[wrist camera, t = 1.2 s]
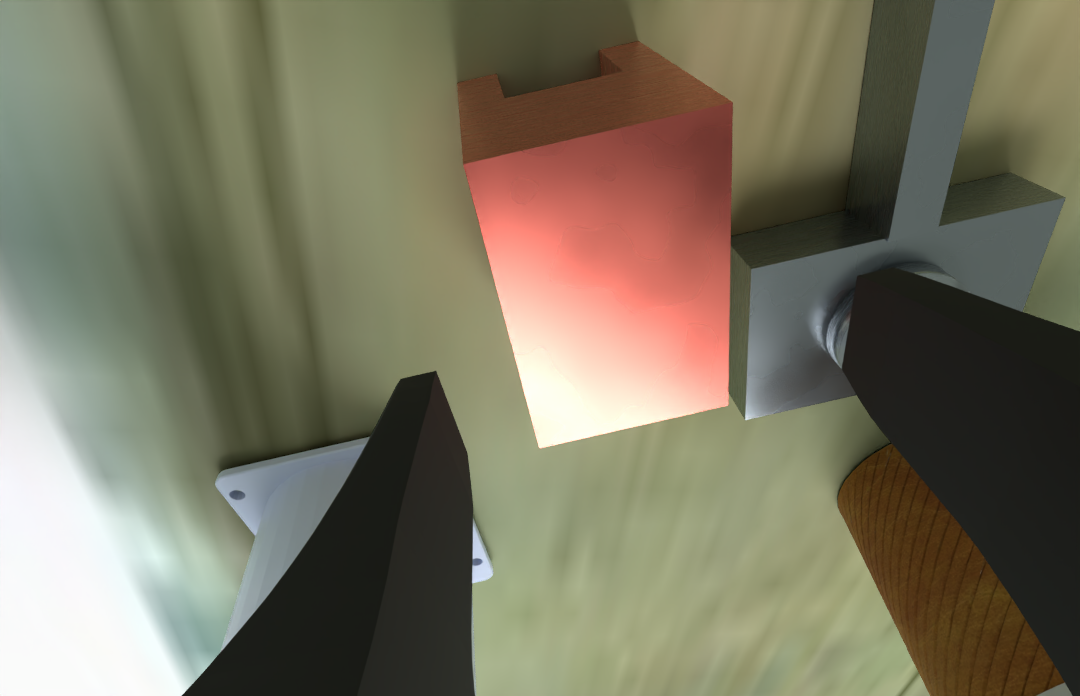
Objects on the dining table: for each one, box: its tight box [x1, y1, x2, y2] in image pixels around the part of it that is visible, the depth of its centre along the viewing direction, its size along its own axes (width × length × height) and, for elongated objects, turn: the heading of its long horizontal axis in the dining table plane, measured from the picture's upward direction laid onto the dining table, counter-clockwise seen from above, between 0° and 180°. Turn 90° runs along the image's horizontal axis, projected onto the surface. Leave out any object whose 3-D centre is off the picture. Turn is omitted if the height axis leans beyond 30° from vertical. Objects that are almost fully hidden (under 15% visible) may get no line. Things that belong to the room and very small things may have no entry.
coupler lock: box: [457, 41, 733, 448], centre depth 14 cm, size 7×5×6 cm, turn 10°
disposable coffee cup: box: [838, 444, 1072, 696], centre depth 22 cm, size 10×10×12 cm
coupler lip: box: [728, 0, 1065, 420], centre depth 16 cm, size 15×9×3 cm, turn 10°
